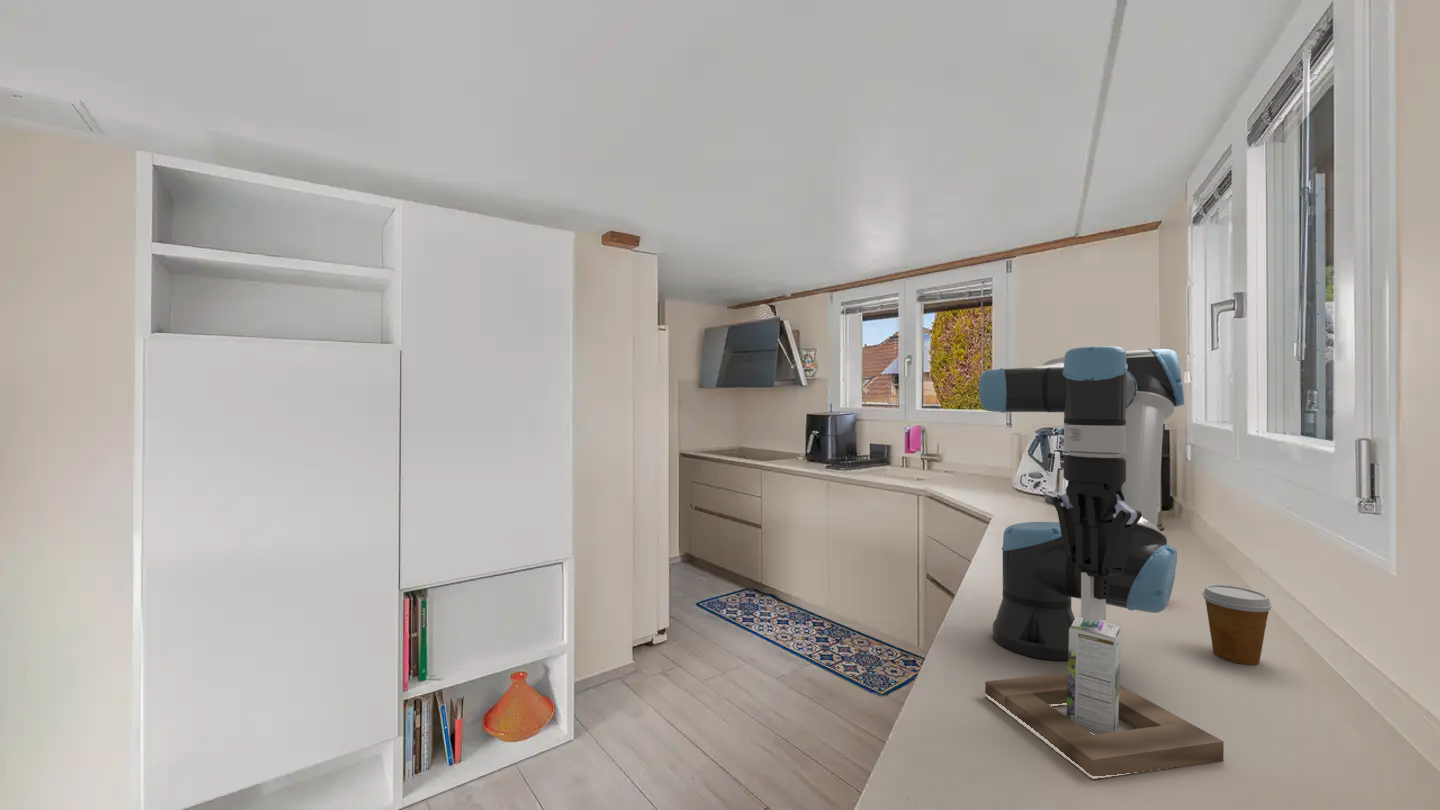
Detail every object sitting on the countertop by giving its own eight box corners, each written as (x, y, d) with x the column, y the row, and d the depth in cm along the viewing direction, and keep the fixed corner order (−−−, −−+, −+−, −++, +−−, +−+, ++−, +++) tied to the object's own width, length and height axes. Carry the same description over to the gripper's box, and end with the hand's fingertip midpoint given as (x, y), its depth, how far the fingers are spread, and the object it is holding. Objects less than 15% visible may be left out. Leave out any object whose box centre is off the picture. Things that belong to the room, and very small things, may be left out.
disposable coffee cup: (1286, 671, 98) (1286, 602, 98) (1223, 666, 100) (1223, 598, 100) (1247, 648, 107) (1247, 585, 107) (1190, 644, 109) (1190, 582, 109)
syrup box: (1072, 710, 85) (1073, 614, 85) (1120, 725, 81) (1120, 624, 81) (1066, 727, 81) (1066, 625, 81) (1116, 743, 77) (1117, 636, 77)
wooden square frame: (985, 697, 89) (985, 681, 89) (1092, 685, 93) (1092, 670, 93) (1092, 780, 69) (1092, 759, 69) (1223, 760, 73) (1223, 741, 73)
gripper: (1037, 451, 87) (1036, 604, 87) (1111, 459, 74) (1111, 639, 74) (1078, 450, 88) (1078, 601, 88) (1159, 458, 75) (1158, 634, 75)
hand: (1093, 618), depth 81 cm, fingers closed
